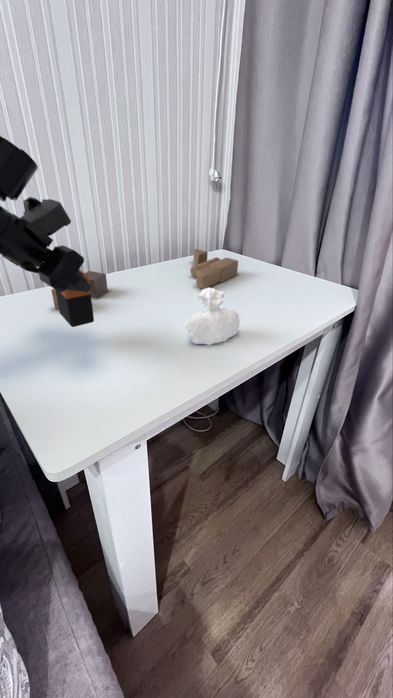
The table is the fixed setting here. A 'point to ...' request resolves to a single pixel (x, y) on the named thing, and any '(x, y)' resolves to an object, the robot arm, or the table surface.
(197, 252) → the wooden block set
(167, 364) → the table surface
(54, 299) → the line block near
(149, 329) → the table surface
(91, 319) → the battery
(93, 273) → the line block far
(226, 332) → the bust
